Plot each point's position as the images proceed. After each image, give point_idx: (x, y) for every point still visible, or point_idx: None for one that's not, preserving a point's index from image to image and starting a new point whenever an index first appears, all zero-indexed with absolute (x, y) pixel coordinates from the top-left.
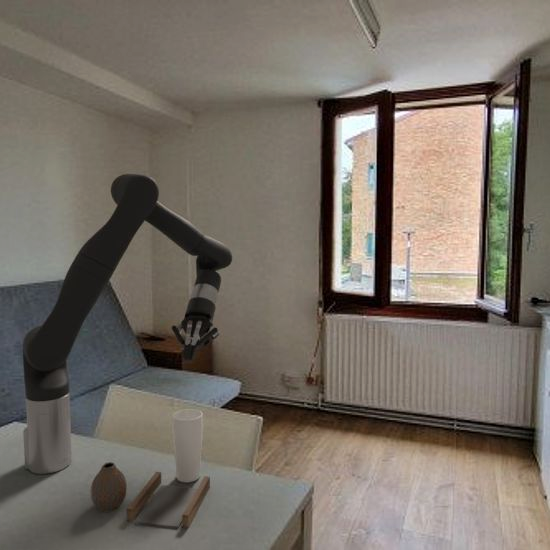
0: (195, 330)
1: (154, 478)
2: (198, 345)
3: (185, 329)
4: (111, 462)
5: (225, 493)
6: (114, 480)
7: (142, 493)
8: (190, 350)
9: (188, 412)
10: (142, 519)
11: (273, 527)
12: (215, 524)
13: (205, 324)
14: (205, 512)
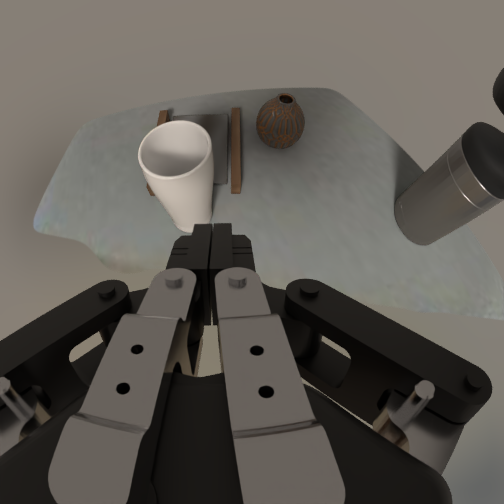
0: (155, 371)
1: (234, 166)
2: (140, 295)
3: (333, 411)
4: (286, 104)
5: (126, 187)
6: (268, 101)
7: (234, 133)
8: (194, 246)
9: (182, 180)
10: (220, 118)
11: (74, 145)
12: (133, 132)
13: (37, 478)
14: None
